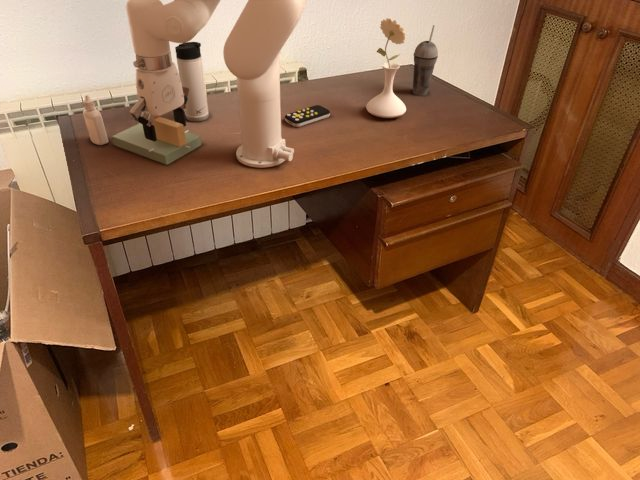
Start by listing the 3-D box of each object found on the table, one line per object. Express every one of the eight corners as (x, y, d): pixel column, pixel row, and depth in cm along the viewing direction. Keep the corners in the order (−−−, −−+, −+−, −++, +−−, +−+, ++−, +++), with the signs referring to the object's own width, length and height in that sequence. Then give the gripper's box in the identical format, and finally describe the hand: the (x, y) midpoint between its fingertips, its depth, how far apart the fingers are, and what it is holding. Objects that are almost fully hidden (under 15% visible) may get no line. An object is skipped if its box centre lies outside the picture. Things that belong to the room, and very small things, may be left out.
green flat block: (209, 146, 123) (208, 136, 121) (171, 168, 114) (169, 158, 112) (151, 126, 130) (150, 117, 129) (112, 146, 122) (109, 136, 120)
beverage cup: (404, 89, 155) (413, 22, 143) (425, 87, 157) (435, 21, 145) (414, 98, 150) (424, 29, 137) (435, 96, 152) (447, 28, 139)
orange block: (186, 143, 118) (183, 123, 115) (180, 147, 117) (176, 126, 113) (159, 134, 122) (155, 114, 118) (152, 137, 120) (148, 117, 117)
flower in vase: (412, 118, 138) (426, 25, 123) (376, 124, 135) (386, 29, 119) (390, 101, 148) (401, 12, 132) (356, 106, 144) (363, 15, 129)
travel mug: (205, 123, 133) (194, 47, 121) (182, 120, 134) (169, 45, 122) (213, 113, 138) (204, 40, 125) (191, 111, 139) (180, 38, 126)
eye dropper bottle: (90, 147, 121) (76, 100, 113) (90, 137, 125) (77, 91, 118) (109, 144, 122) (96, 98, 115) (108, 135, 126) (96, 90, 119)
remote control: (332, 116, 138) (332, 110, 137) (296, 128, 131) (296, 121, 130) (318, 109, 142) (318, 103, 140) (282, 121, 135) (282, 114, 134)
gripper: (135, 75, 100) (150, 150, 110) (194, 53, 112) (202, 123, 122) (110, 67, 103) (127, 141, 113) (170, 47, 115) (180, 116, 125)
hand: (166, 132), depth 118 cm, fingers open, 9 cm apart
